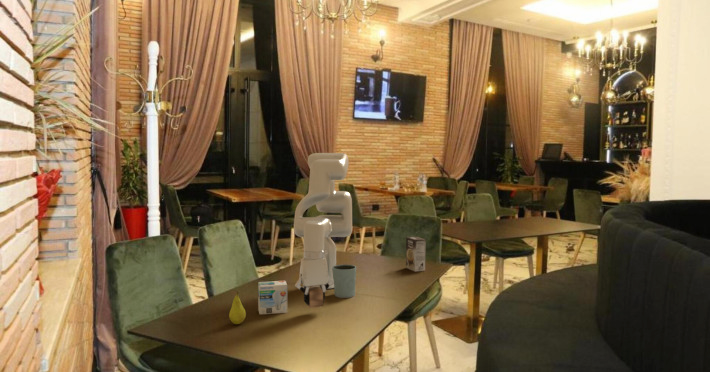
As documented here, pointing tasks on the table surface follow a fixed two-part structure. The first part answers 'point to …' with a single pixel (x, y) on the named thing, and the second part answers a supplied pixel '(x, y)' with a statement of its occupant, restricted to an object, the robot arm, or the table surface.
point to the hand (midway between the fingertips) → (314, 302)
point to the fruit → (237, 311)
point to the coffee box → (415, 253)
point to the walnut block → (315, 297)
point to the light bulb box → (272, 297)
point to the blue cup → (344, 280)
